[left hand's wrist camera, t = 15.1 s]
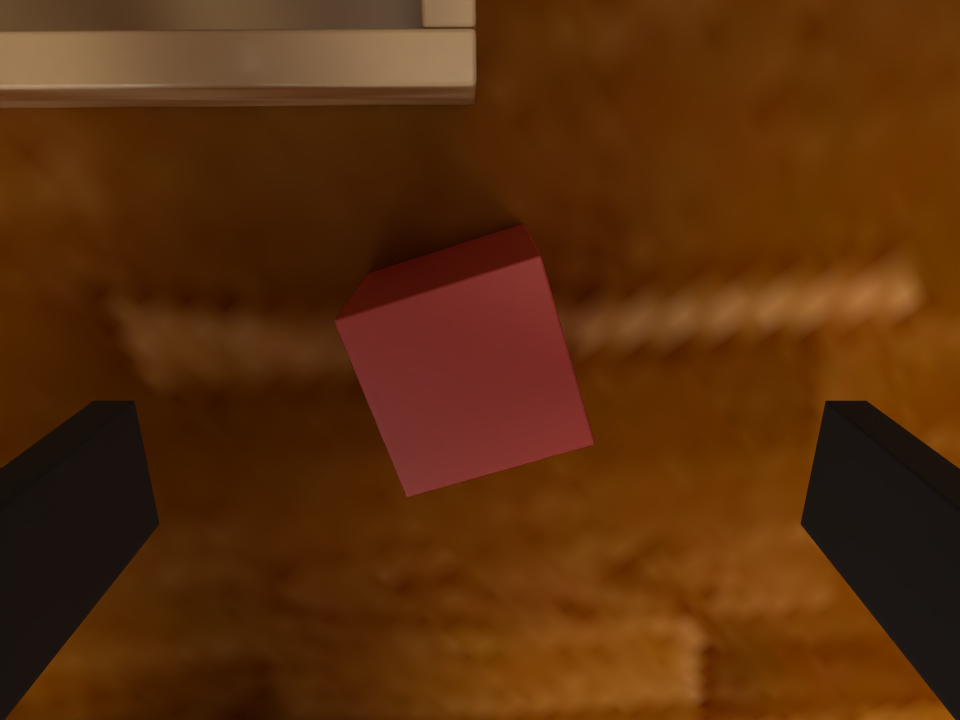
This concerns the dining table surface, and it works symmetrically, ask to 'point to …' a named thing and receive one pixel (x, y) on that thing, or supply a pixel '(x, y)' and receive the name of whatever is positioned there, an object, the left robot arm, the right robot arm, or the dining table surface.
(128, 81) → the chest
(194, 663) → the dining table surface
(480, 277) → the block
